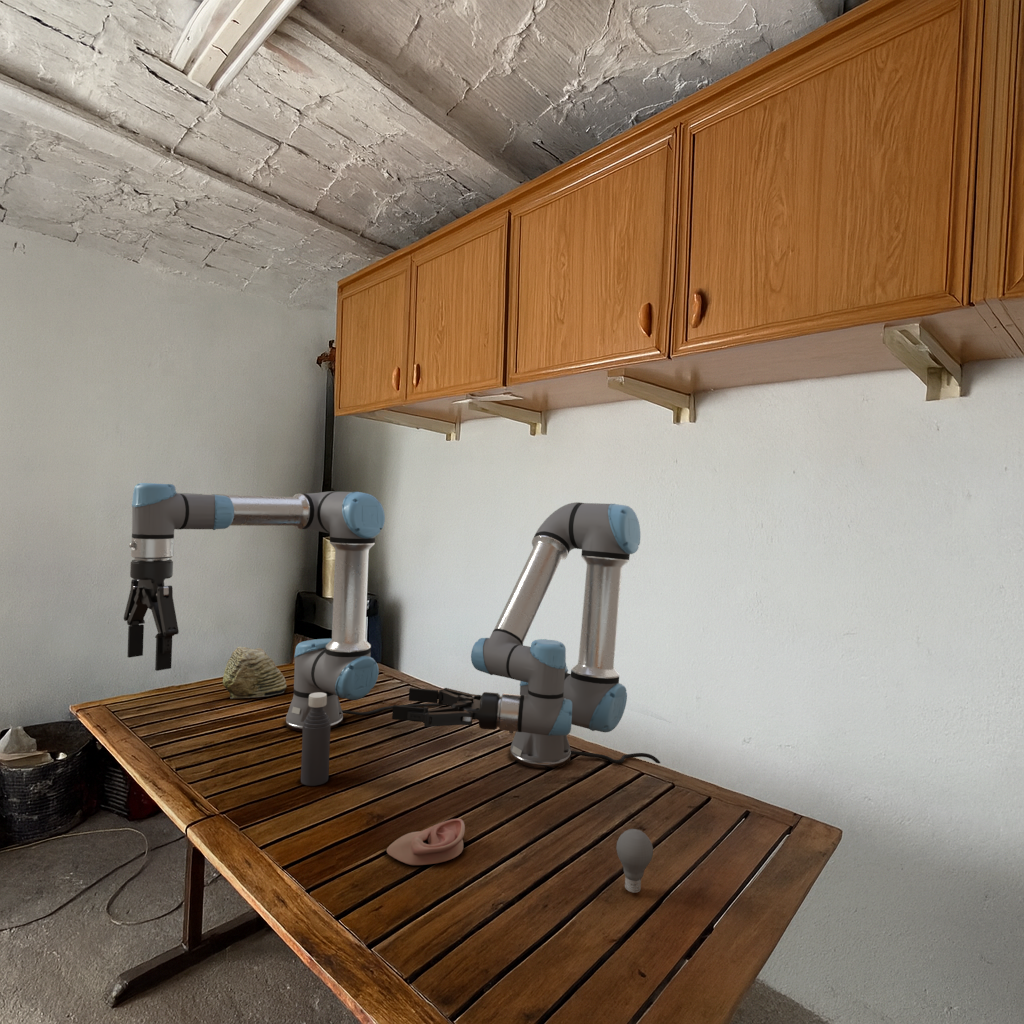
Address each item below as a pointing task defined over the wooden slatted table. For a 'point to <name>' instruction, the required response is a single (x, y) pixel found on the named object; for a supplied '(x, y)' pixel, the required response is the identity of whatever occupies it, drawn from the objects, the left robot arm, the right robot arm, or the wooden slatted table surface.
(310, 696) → the cap
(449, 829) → the anatomical model
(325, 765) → the bottle
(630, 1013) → the wooden slatted table surface
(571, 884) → the wooden slatted table surface
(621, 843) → the light bulb
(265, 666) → the fossil
